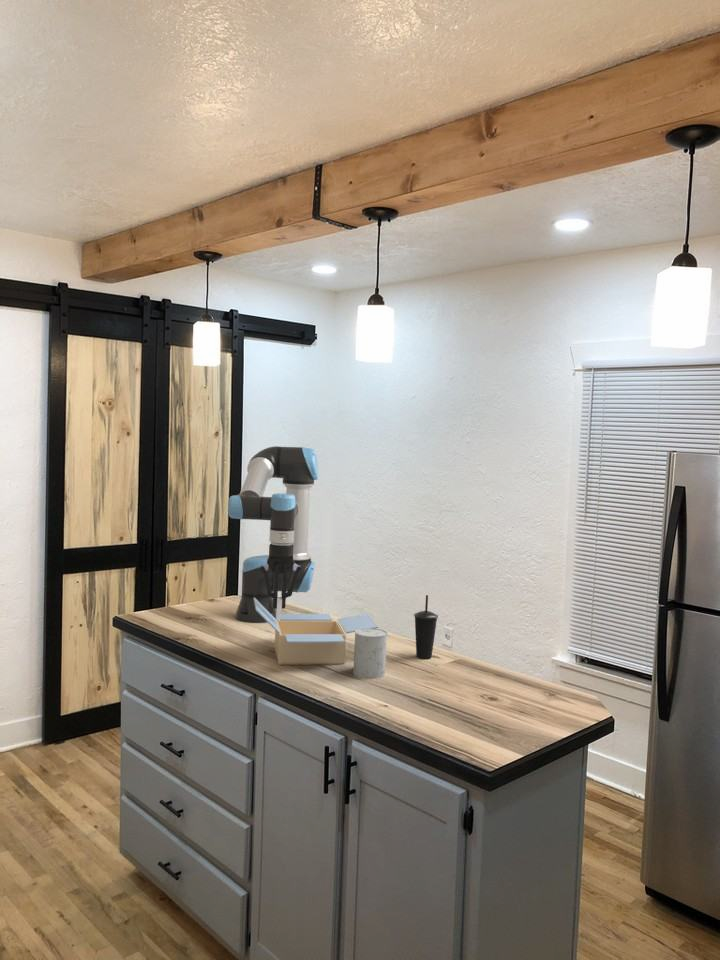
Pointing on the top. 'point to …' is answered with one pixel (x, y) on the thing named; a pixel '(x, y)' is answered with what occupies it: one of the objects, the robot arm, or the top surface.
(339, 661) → the carton
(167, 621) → the top surface
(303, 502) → the robot arm
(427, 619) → the drinking cup
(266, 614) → the flap
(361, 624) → the flap
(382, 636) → the speckled concrete cylinder
